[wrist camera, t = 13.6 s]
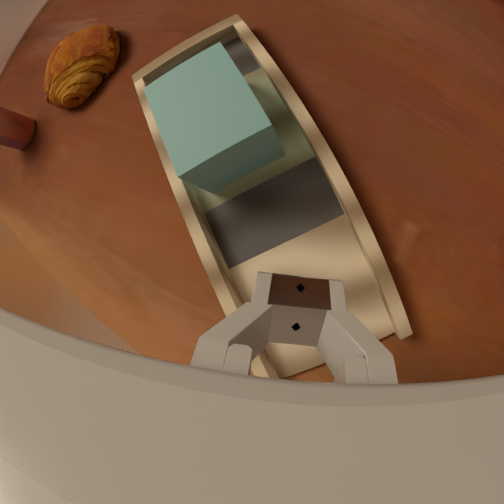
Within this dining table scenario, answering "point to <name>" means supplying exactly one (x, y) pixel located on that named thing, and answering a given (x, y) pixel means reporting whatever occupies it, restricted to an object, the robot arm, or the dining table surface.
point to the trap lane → (279, 208)
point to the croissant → (80, 65)
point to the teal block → (211, 121)
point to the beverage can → (15, 129)
